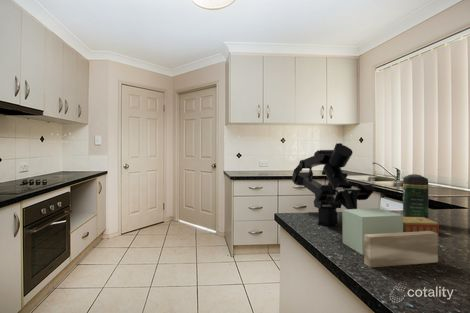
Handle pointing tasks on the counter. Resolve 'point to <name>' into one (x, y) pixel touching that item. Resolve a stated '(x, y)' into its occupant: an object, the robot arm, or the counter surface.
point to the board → (400, 248)
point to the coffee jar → (415, 196)
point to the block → (368, 225)
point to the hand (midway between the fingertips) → (355, 214)
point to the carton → (419, 224)
